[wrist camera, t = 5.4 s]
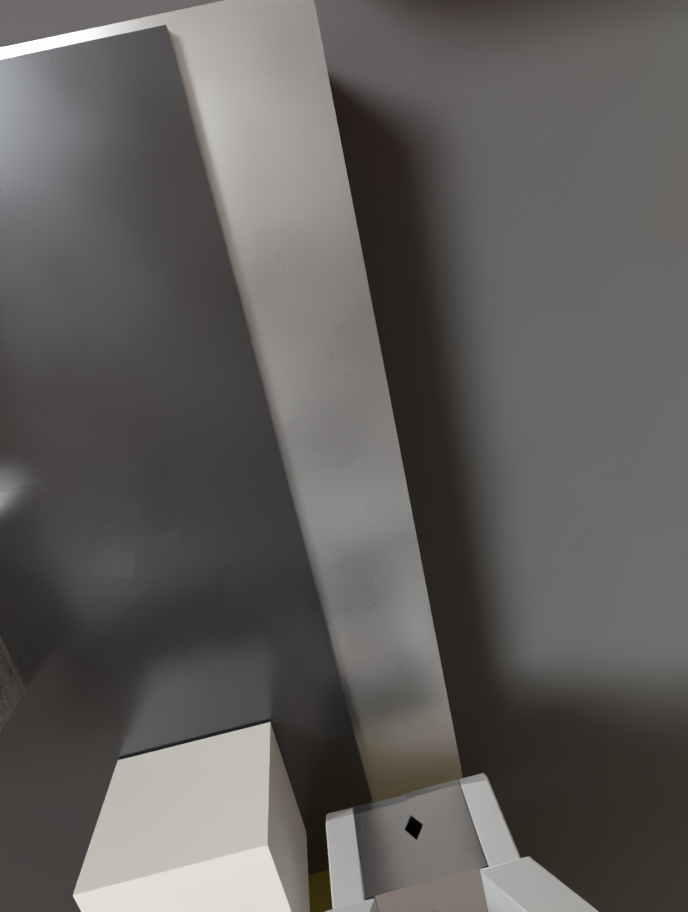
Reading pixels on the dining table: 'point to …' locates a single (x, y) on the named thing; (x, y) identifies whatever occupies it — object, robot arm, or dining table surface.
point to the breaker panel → (194, 437)
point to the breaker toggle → (199, 832)
